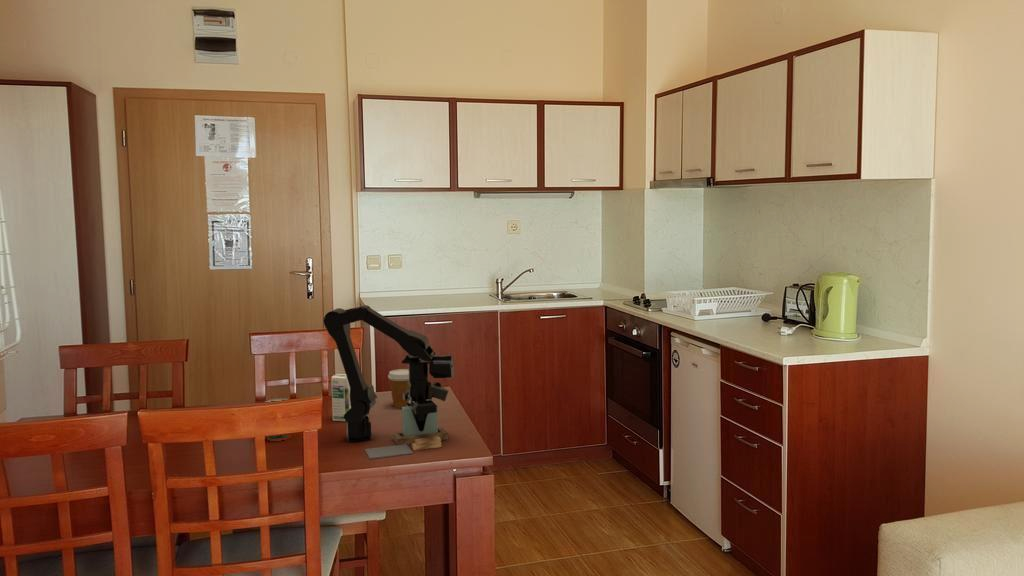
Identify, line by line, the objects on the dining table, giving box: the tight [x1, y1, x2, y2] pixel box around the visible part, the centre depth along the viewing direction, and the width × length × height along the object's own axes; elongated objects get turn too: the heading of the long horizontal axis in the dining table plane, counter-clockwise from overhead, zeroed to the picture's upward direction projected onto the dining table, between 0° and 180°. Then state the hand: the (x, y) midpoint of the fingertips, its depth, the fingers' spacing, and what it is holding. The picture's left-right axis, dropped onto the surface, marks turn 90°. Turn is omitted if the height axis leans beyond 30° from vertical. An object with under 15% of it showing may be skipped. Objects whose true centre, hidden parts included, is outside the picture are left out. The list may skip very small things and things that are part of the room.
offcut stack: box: [411, 436, 442, 451], centre depth 221 cm, size 8×3×2 cm, turn 110°
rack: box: [392, 426, 449, 445], centre depth 228 cm, size 15×7×2 cm, turn 110°
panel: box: [401, 406, 439, 437], centre depth 227 cm, size 10×3×10 cm, turn 110°
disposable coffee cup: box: [387, 368, 409, 409], centre depth 264 cm, size 10×10×12 cm
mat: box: [364, 444, 414, 460], centre depth 217 cm, size 12×8×1 cm, turn 110°
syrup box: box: [330, 373, 351, 422], centre depth 249 cm, size 6×6×14 cm
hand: (420, 429), depth 228 cm, fingers closed on panel, 3 cm apart
